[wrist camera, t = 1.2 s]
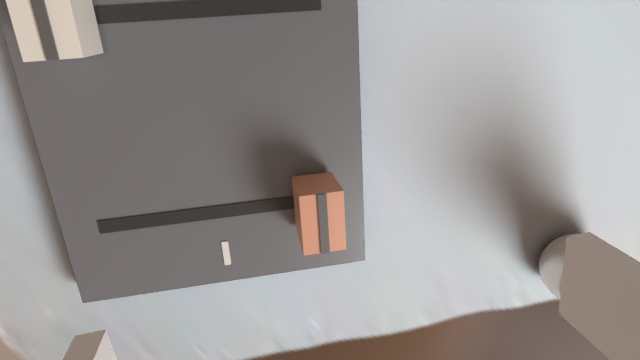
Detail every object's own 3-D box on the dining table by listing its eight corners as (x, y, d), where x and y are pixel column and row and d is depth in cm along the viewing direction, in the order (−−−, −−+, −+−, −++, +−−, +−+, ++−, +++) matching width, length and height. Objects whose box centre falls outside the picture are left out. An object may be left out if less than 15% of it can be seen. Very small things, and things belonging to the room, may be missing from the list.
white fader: (31, -22, 26) (-5, -30, 22) (86, -25, 26) (60, -33, 22) (52, 56, 27) (22, 62, 23) (103, 53, 27) (82, 58, 24)
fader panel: (-16, -87, 26) (-36, -95, 24) (346, -96, 29) (354, -105, 27) (90, 288, 35) (82, 303, 33) (358, 248, 38) (365, 260, 36)
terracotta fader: (291, 176, 32) (299, 197, 29) (331, 171, 33) (344, 191, 29) (296, 230, 34) (304, 256, 30) (334, 224, 34) (346, 250, 31)
